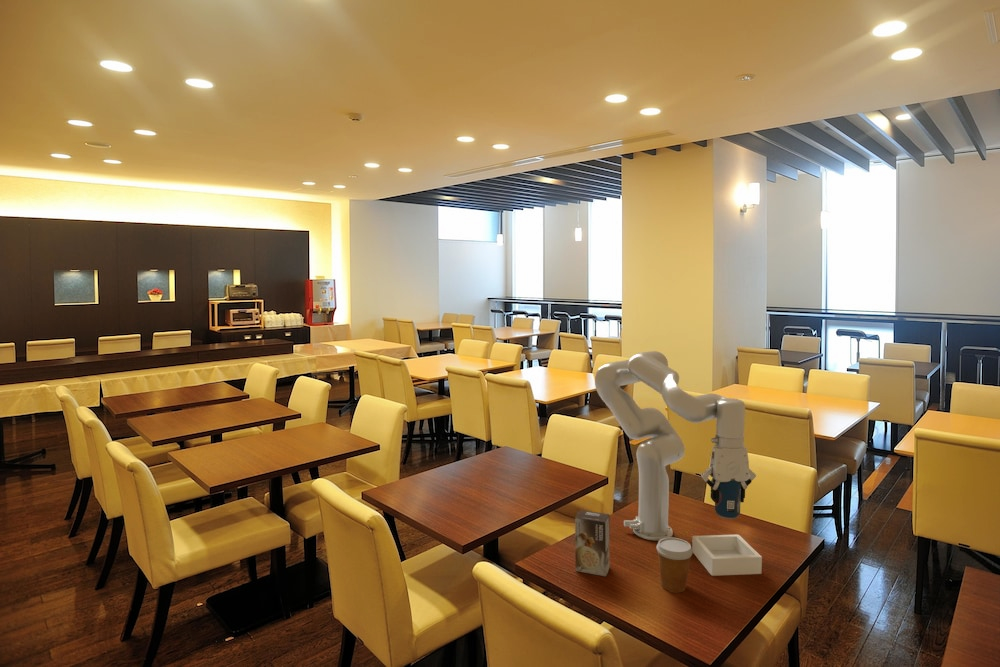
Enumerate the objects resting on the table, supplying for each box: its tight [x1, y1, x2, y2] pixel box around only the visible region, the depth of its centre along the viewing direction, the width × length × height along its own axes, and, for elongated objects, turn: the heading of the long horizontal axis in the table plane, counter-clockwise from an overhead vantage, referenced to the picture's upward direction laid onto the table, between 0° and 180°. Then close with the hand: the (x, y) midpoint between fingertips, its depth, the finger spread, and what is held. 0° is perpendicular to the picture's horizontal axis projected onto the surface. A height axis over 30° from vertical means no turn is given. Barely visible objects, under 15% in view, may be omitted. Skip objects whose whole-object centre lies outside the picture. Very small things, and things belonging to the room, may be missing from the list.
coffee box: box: [574, 509, 610, 577], centre depth 169 cm, size 9×6×16 cm
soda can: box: [714, 479, 742, 520], centre depth 171 cm, size 7×7×12 cm
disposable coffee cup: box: [656, 536, 694, 593], centre depth 159 cm, size 10×10×12 cm
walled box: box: [691, 534, 763, 577], centre depth 173 cm, size 14×14×5 cm
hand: (727, 500), depth 171 cm, fingers closed on soda can, 6 cm apart
